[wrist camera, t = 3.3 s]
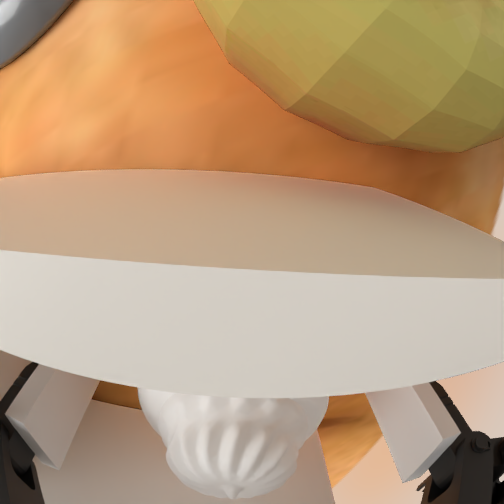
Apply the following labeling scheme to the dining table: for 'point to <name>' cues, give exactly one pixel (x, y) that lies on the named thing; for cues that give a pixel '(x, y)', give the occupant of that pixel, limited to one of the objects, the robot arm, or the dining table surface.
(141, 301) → the cubby
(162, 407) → the white rounded ribbed piece
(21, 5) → the coaster
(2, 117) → the dining table surface
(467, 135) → the apple
